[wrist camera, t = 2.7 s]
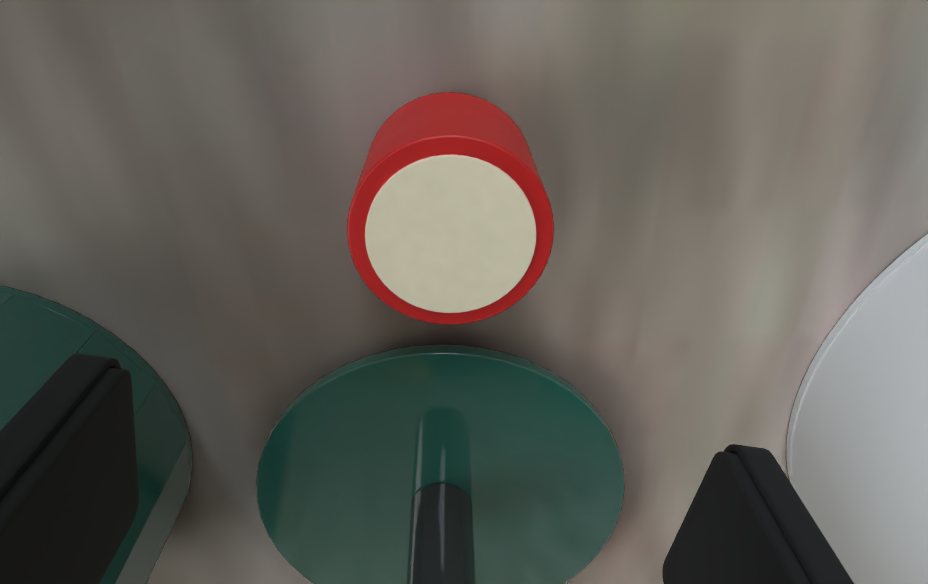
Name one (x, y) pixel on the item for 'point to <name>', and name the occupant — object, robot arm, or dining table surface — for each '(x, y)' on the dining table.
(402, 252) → the red short cylinder
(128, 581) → the pot
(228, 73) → the dining table surface
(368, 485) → the pot lid
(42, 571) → the robot arm
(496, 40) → the dining table surface
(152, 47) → the dining table surface
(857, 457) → the kettle
